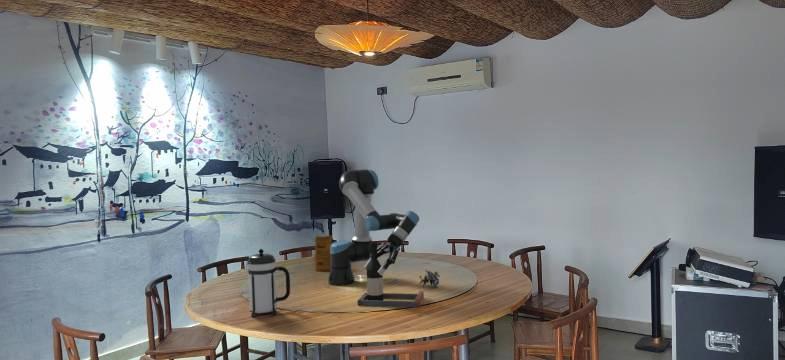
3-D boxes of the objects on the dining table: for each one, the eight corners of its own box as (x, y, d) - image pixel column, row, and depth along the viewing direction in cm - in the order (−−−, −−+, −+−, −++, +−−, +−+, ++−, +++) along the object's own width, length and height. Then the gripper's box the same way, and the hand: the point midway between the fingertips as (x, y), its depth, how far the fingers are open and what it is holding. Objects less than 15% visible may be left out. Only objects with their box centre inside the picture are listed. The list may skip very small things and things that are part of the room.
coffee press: (264, 319, 236) (262, 252, 234) (239, 315, 244) (237, 250, 243) (291, 310, 250) (289, 246, 249) (267, 305, 259) (265, 244, 258)
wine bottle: (386, 300, 263) (384, 240, 262) (380, 304, 255) (378, 242, 254) (370, 299, 266) (368, 239, 265) (364, 303, 258) (362, 242, 257)
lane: (357, 305, 255) (357, 297, 254) (365, 297, 269) (365, 289, 269) (419, 307, 249) (419, 298, 249) (423, 298, 264) (423, 290, 263)
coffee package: (315, 268, 347) (314, 234, 346) (334, 267, 347) (333, 234, 346) (313, 271, 337) (312, 237, 336) (332, 270, 337) (331, 236, 336)
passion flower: (436, 297, 286) (440, 283, 278) (417, 294, 286) (420, 279, 279) (438, 282, 294) (441, 267, 287) (418, 278, 295) (421, 264, 288)
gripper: (416, 245, 257) (390, 280, 250) (389, 239, 278) (365, 271, 271) (406, 235, 254) (380, 271, 247) (380, 230, 275) (355, 263, 268)
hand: (372, 271), depth 259 cm, fingers open, 13 cm apart
